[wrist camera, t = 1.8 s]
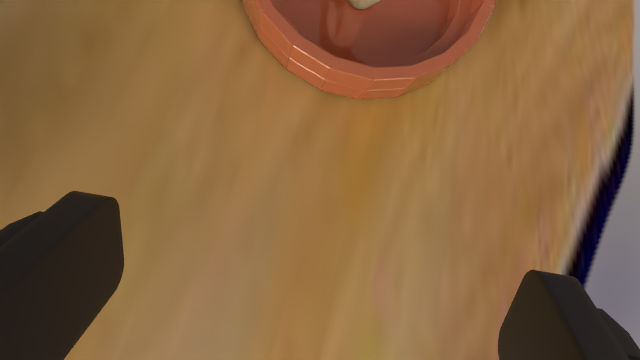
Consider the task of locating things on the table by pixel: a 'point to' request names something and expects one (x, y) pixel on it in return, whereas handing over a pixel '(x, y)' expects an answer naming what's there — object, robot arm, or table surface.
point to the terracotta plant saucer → (368, 41)
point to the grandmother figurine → (362, 3)
